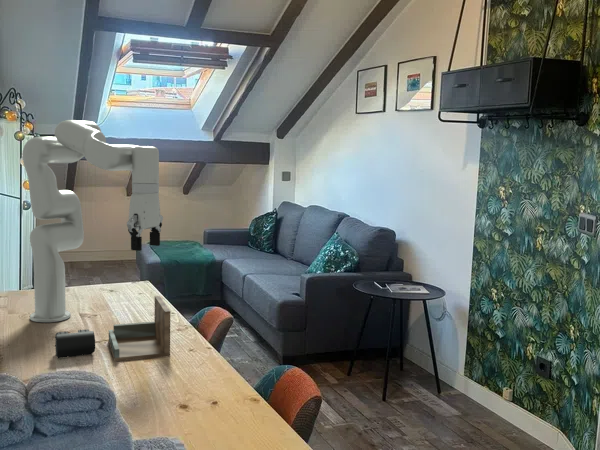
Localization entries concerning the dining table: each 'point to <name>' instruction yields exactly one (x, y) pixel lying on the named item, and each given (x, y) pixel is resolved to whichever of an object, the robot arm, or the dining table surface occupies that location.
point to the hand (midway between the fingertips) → (145, 247)
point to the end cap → (74, 343)
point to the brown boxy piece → (143, 336)
